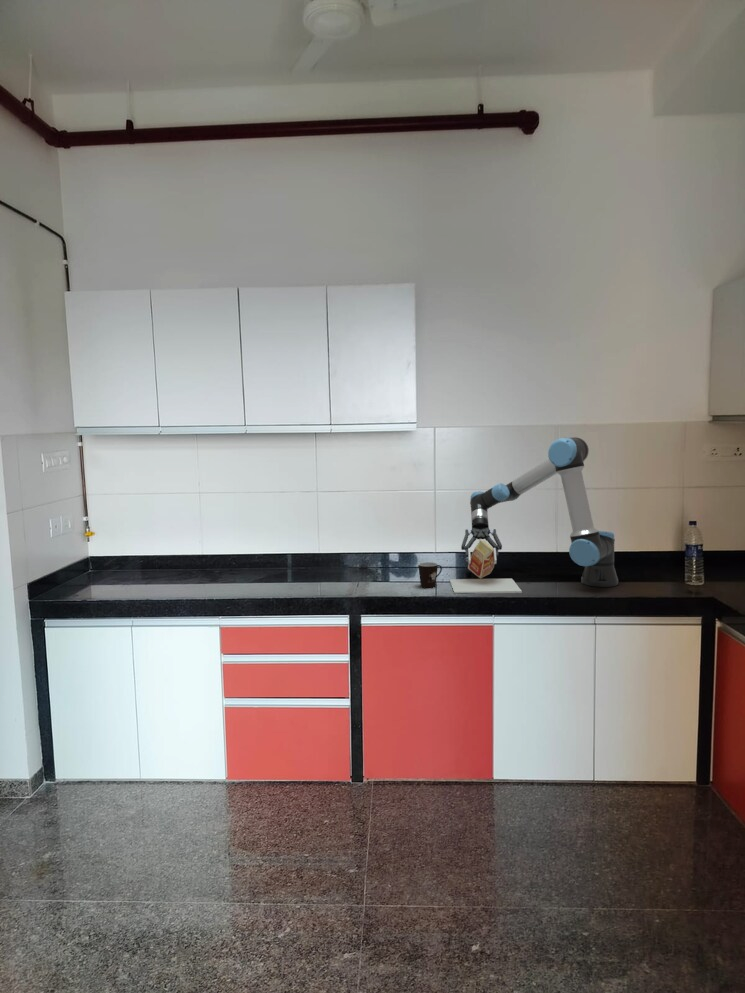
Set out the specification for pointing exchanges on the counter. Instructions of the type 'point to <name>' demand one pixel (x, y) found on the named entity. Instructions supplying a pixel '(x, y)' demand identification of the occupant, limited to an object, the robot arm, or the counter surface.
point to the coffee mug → (428, 574)
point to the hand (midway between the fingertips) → (482, 562)
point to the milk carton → (482, 559)
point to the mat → (484, 586)
